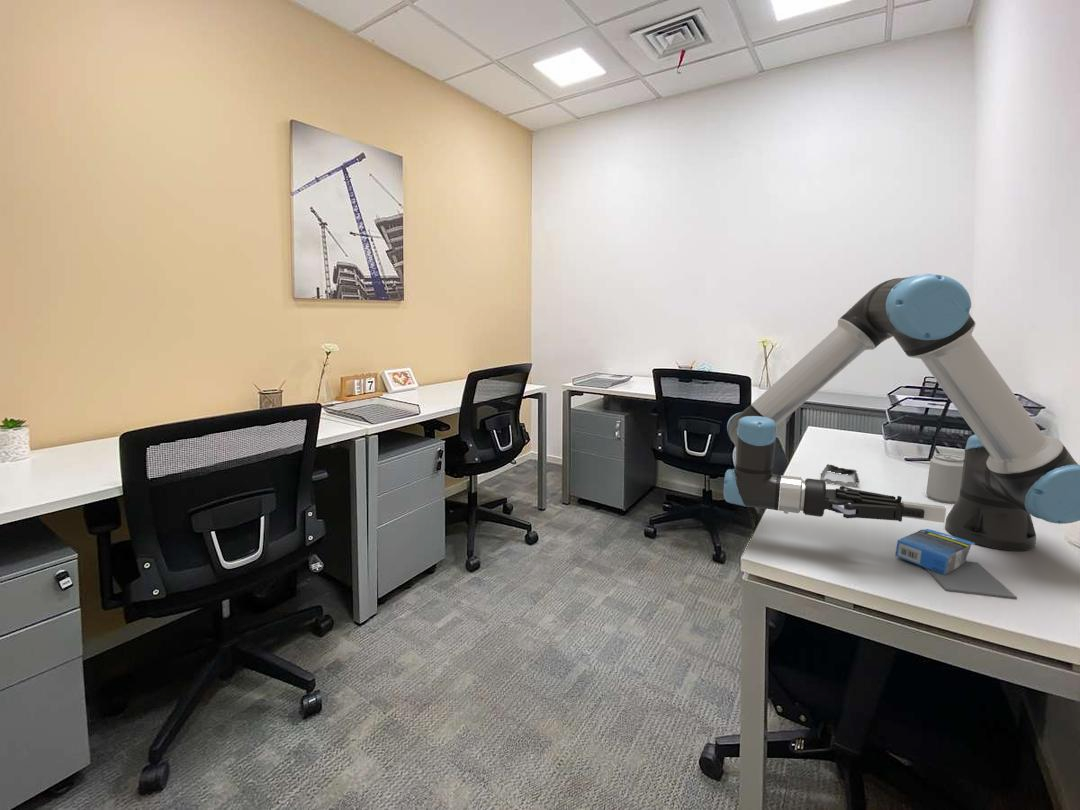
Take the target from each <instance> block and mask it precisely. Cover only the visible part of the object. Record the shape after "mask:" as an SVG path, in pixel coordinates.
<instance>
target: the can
mask: <svg viewBox="0 0 1080 810" xmlns="http://www.w3.org/2000/svg"><path fill="white" fill-rule="evenodd" d="M963 464H964V457H962V456H960V455H957V454H951V453H936V454H935V453H934V454H933V457H932V458H931V459H930V463H929V470H928V476H927V485H926V493H925V494H926V496H928V497H929V499H931V500H932V501H936V502H940V503H945V504H955V503H956V501H957V500H958V498H959V494H960V487H961V479H962V472H963Z"/></svg>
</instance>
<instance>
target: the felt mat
mask: <svg viewBox="0 0 1080 810" xmlns="http://www.w3.org/2000/svg"><path fill="white" fill-rule="evenodd" d="M923 568H924V569H925V570H926V571H927V572H928V573H929V575H930V576H932V578H933V579H934V580H935V582H937V583H938V584H939V586H941V588H942V589H943V590H944V591H946V592H953V593H963V594H969V595H977V596H985V597H996V598H1002V599H1010V600H1017V599H1018V597H1017V596H1016V595H1015V594H1014V593H1013V592H1012V591H1010V589H1008V588H1007V587H1006V586H1005V585H1004V584H1003V583H1002V582H1001V581H999V580H998V579H997V578H995V576H993V575H992V574H991V573H990V572H989V571H988V570H987V569H986V568H984V567H983V566H982V565H981V564H980V563H979V562H975V561H967V560H965V563H964V564H963V565H961V566H959V567H958V568H956V569H954V570H952V571H951V572H949V573H947V574H945V575H944V574H941V573H939V572H936V571H933V570H931V569H928V568H925V567H923Z"/></svg>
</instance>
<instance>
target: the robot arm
mask: <svg viewBox="0 0 1080 810" xmlns="http://www.w3.org/2000/svg"><path fill="white" fill-rule="evenodd" d="M971 308H972V300H971V297H970V293H969V292H968V289H966V287H964V285H963V284H961V282H959V281H957V280H956V279H954V278H952V277H950V276H946V275H943V274H942V275H941V274H933V273H922V274H921V273H919V274H915V275H911V276H907V277H897V278H892V279H889V280H885V281H883V282H881V283H879V284H877V285H875V286H874V287H873V288H872V289H870V290H869V291H868V292H866V294H865V295H864V296H862V297H861V298H860V299H859V300H858V301H857V302H856V303H855V304H854V305H853V306H852V307H850V308H849V309H848V310H847V311H846V312H845V313H844V314H843V315H841V317H839V319H837V327H836V328H834V330H832V331H831V332H830V333H829V334H828V335H827V336H825V337H824V339H822V340H821V341H820V342H818V343H817V344H816V346H814V347H813V348H812V349H811V350H809V352H808V353H807V354H805V356H804V357H802V358H801V359H800V360H799V361H798V362H797V363H796V364H794V365H793V366H792V367H791V368H790V369H789V370H788V371H787V372H786V373H784V374H783V375H782V376H781V377H780V378H779V379H777V380H776V381H775V383H773V384H772V385H771V386H770V387H769V388H768V389H767V390H766V391H764V392H763V393H762V394H761V395H760V396H759V397H758V398H756V399H755V400H754V401H753V402H752V403H751V404H750V405H749V406H748V407H746V408H745V409H744V410H742V411H740V412H737V413H735V414H732V415H731V416H730V418H729V419H728V421H727V425H726V430H727V434H728V437H729V439H730V441H731V442H732V443H733V444H734V447H735V450H736V452H735V465H734V468H732V469H731V468H729V469H727V470H726V472H725V474H724V480H723V481H724V482H723V499H724V500H725V502H727V503H729V504H733V505H737V506H743V507H746V508H747V507H751V508H756V509H757V508H759V509H766V510H772V511H780V512H783V513H784V514H785V515H786V514H789V513H793V514H799V513H801V512H802V513H803V514H804V515H805V516H813V517H820V518H821V517H824V514H825V510H827V511H832V512H834V513H836V514H842V517H843V518H844V519H869V520H870V519H871V520H884V521H897V522H902V521H903V518H906V519H915V520H920V521H921V520H922V521H928V522H930V521H931V522H936V523H942V524H943V523H944V529H945V530H946V531H947V532H948V533H949V534H951V536H954V537H957V538H961V539H964V540H967V541H970V542H973V543H975V544H974V545H979V546H983V547H987V548H992V549H996V550H997V549H998V550H1004V551H1014V552H1015V551H1016V552H1017V551H1018V552H1020V551H1021V552H1023V551H1030V550H1032V549H1034V548H1035V546H1036V542H1037V541H1036V540H1037V534H1036V531H1035V530H1036V529H1035V527H1034V522H1033V520H1032V517H1034V518H1035V519H1039V520H1043V521H1045V522H1048V523H1051V524H1060V525H1063V524H1065V525H1066V524H1072V523H1076V522H1079V521H1080V464H1079V463H1078V462H1077V461H1076V460H1075V459H1074V458H1073V456H1072V455H1071V453H1070V452H1069V450H1068V449H1067V448H1066V446H1065V445H1064V444H1063V442H1062V441H1061V440H1060V439H1059V438H1057V437H1054V436H1049V435H1044V433H1043V432H1042V431H1041V430H1040V428H1039V427H1038V425H1037V424H1036V422H1035V421H1034V420H1033V418H1032V417H1031V415H1030V414H1029V413H1028V411H1027V410H1026V409H1025V407H1024V406H1023V405H1022V403H1021V402H1020V401H1019V399H1018V397H1017V396H1016V395H1015V394H1014V392H1013V391H1012V389H1011V388H1010V387H1009V385H1008V383H1006V381H1005V380H1004V378H1003V376H1002V375H1001V374H1000V372H999V371H998V370H997V368H996V367H995V365H994V364H993V363H992V362H991V360H990V358H989V357H988V356H987V354H986V353H985V352H984V350H983V349H982V348H981V346H980V345H979V343H978V342H977V341H976V339H975V338H974V336H973V332H974V329H975V327H976V324H977V323H976V322H975V320H974V318H973V317H972V316H971V314H970V310H971ZM892 337H893V338H894V340H895V341H896V342H897V343H898V345H899V346H900V348H901V349H902V350H903V352H904V353H905V355H906V356H907V357H909V358H914V359H919V360H921V361H922V363H923V364H924V365H925V367H926V368H927V369H928V371H929V372H930V374H931V375H932V376H933V379H935V381H936V382H937V383H938V385H939V386H940V388H942V390H943V392H944V393H945V395H946V396H947V397H948V398H949V400H950V401H951V403H952V404H953V406H954V407H955V408H956V410H957V411H958V412H959V414H960V415H961V416H962V418H963V419H964V421H965V422H966V423H967V425H968V427H969V428H970V429H971V431H972V432H973V434H972V435H970V436H968V439H967V441H966V446H965V448H964V457H963V458H964V460H963V461H964V464H963V472H962V479H961V487H960V494H959V498H958V500H957V501H956V503H953V506H952V508H951V509H950V511H949V513H948V515H947V516H946V513H947V508H946V507H945V505H936V504H928V503H922V502H921V503H919V502H912V501H905V500H903V501H902V499H903V498H902V496H900V495H897V497H896V496H894V495H888V494H884V493H883V494H882V493H877V492H871V491H867V490H866V491H865V490H861V489H855V488H852V487H851V488H850V487H849V486H843V485H839V488H833V489H832V488H830V489H829V488H827V485H826V484H827V483H825V481H824V480H821V479H818V478H817V479H816V478H805V480H803V478H802V477H801V476H794V475H793V476H792V475H784V474H783V475H782V474H774V473H773V472H774V471H773V470H774V464H775V463H774V462H775V461H774V460H775V449H776V441H777V432H776V431H777V427H778V426H779V425H780V424H781V423H782V422H784V421H785V420H786V419H787V418H788V417H789V416H791V414H793V413H794V412H795V411H796V410H797V409H799V408H800V407H801V406H802V405H803V404H805V402H807V401H808V400H809V399H810V398H812V396H814V394H816V393H817V392H818V391H819V390H821V389H822V388H823V387H824V386H825V385H827V384H828V383H829V382H830V381H831V380H832V379H834V377H836V376H837V375H838V374H839V373H841V372H842V371H843V370H844V369H845V368H846V367H848V365H850V364H851V363H852V362H853V361H855V360H856V359H857V358H858V357H859V356H860V355H861V354H862V353H864V352H865V351H867V350H869V351H870V350H871V351H873V350H875V349H876V348H877V347H878V346H879V345H881V343H883V342H885V341H887V340H888V339H890V338H892Z"/></svg>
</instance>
